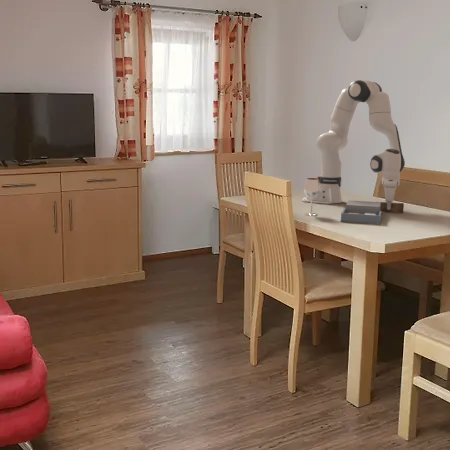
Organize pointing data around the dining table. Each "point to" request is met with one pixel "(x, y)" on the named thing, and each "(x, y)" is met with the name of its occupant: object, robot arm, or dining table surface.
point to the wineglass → (312, 191)
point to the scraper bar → (392, 207)
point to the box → (361, 216)
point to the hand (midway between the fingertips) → (388, 207)
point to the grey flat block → (363, 205)
